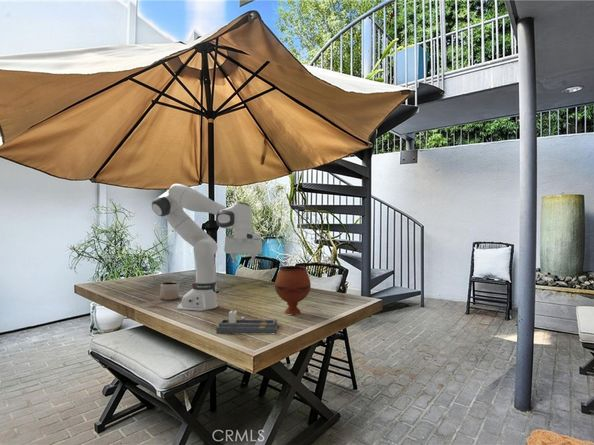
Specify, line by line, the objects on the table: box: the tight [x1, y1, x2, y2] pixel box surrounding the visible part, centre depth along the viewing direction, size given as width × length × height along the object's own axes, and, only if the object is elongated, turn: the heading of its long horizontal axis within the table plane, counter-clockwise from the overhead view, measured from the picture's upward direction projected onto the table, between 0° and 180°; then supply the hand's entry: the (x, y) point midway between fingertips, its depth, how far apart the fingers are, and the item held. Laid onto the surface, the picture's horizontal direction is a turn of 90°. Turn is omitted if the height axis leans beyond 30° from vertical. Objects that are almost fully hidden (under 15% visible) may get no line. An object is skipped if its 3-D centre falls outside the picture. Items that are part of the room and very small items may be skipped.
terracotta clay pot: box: [274, 265, 311, 316], centre depth 181 cm, size 19×19×25 cm
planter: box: [160, 281, 180, 301], centre depth 213 cm, size 11×11×10 cm
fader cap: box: [228, 310, 238, 323], centre depth 154 cm, size 3×4×5 cm
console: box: [215, 316, 278, 334], centre depth 154 cm, size 26×13×4 cm, turn 90°
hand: (242, 263), depth 166 cm, fingers open, 8 cm apart
